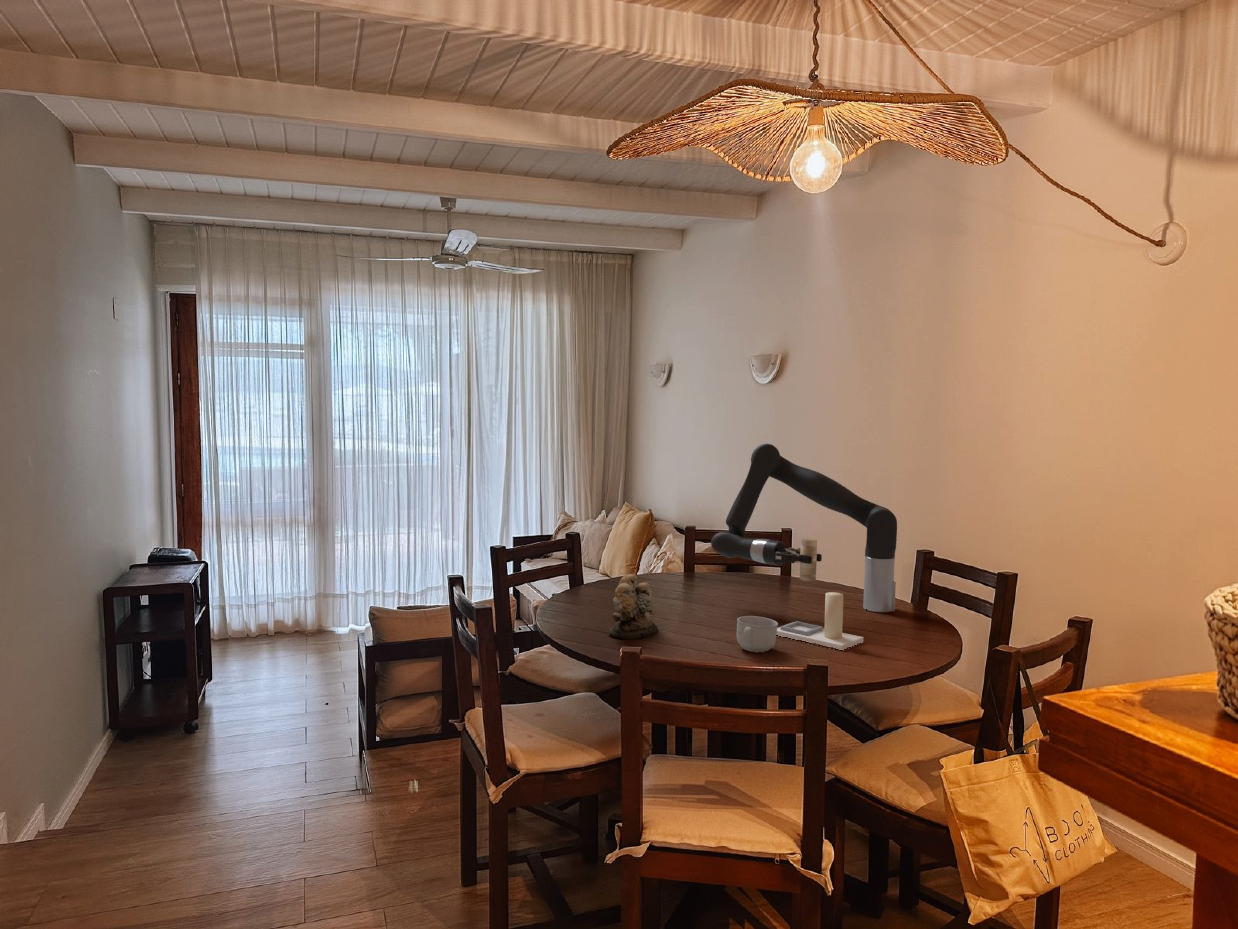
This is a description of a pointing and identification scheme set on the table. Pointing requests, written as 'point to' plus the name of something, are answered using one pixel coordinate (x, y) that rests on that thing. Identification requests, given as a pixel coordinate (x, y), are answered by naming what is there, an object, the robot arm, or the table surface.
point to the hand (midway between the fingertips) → (816, 559)
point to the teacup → (756, 633)
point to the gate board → (822, 639)
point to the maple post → (811, 550)
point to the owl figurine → (633, 610)
